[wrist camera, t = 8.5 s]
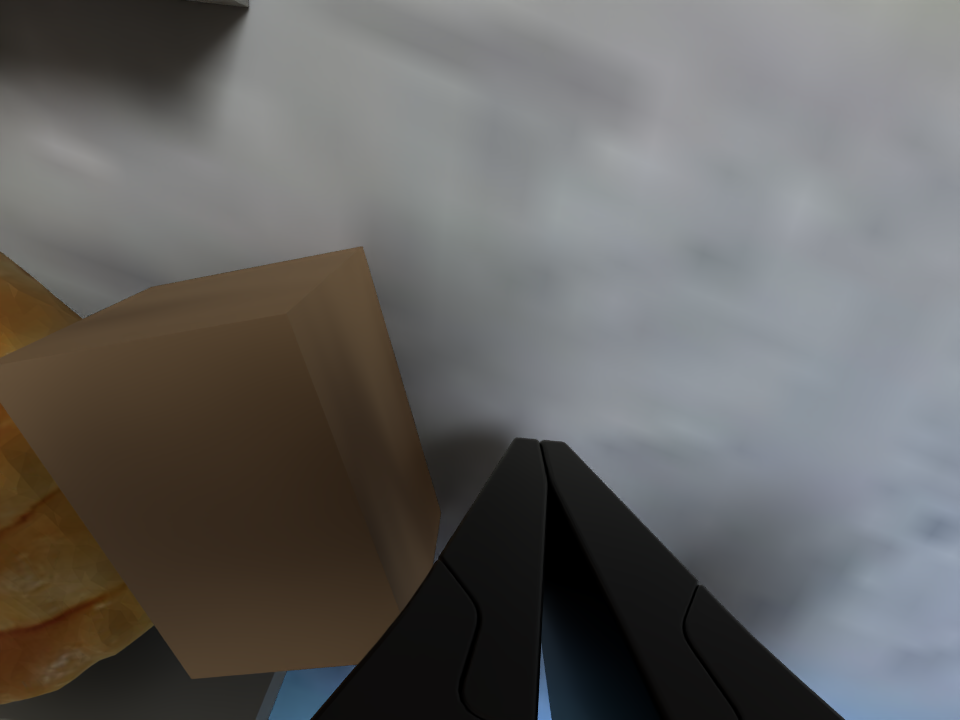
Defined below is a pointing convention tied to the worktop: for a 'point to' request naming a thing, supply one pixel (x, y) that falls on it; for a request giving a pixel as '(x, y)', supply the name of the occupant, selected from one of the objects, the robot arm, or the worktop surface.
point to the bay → (152, 679)
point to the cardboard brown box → (241, 460)
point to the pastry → (48, 540)
